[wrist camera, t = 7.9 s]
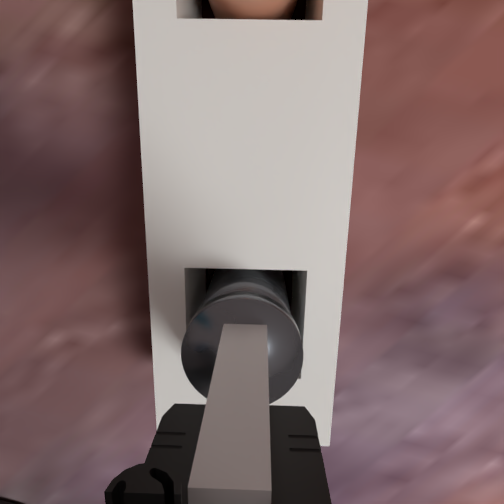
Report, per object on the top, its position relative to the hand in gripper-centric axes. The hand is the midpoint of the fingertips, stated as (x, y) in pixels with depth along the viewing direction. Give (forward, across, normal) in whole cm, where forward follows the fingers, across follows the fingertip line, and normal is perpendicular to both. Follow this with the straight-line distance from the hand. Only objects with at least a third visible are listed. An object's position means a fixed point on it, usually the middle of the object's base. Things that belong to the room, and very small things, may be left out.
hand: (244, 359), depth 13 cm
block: (+9, 0, +7) cm, 11 cm away
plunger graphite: (+8, 0, 0) cm, 8 cm away
